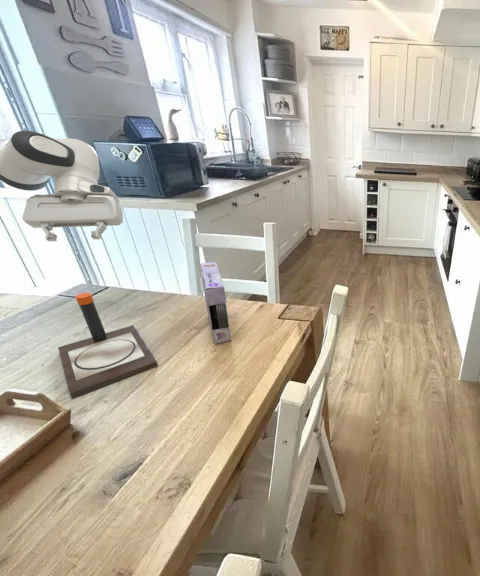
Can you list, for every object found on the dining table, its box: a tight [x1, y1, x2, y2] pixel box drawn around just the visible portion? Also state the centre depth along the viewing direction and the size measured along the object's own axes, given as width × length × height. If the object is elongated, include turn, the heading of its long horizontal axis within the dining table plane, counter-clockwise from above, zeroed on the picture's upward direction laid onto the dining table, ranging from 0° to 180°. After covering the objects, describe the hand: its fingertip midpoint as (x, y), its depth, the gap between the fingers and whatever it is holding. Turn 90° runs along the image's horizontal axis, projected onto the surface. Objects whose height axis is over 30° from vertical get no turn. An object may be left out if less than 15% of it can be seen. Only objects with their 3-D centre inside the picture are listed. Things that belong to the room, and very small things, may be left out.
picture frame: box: [57, 324, 159, 399], centre depth 81 cm, size 22×16×2 cm
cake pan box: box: [199, 261, 232, 345], centre depth 93 cm, size 19×5×18 cm, turn 31°
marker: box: [74, 292, 107, 341], centre depth 84 cm, size 3×3×13 cm
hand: (73, 239), depth 85 cm, fingers open, 8 cm apart
